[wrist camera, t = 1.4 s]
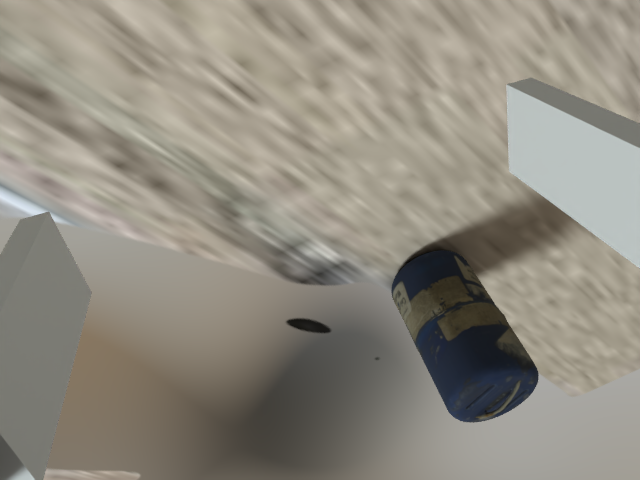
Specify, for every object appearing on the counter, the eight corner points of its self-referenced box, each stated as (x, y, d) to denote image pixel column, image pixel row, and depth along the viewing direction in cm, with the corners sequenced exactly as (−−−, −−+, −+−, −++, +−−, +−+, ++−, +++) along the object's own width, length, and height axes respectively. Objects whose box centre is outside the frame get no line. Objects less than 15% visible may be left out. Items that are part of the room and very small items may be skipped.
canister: (477, 263, 66) (566, 392, 53) (416, 311, 69) (487, 443, 56) (434, 231, 60) (524, 368, 47) (370, 284, 63) (438, 427, 50)
